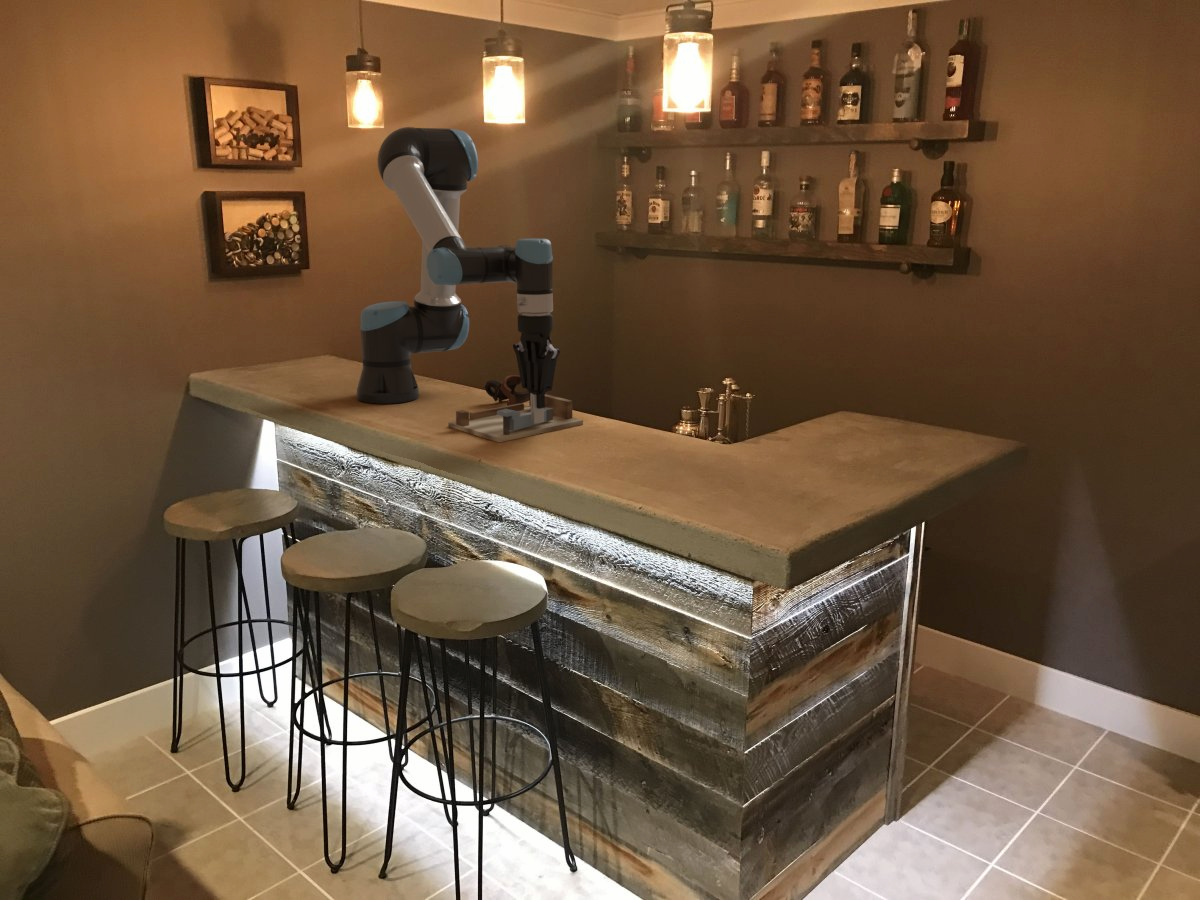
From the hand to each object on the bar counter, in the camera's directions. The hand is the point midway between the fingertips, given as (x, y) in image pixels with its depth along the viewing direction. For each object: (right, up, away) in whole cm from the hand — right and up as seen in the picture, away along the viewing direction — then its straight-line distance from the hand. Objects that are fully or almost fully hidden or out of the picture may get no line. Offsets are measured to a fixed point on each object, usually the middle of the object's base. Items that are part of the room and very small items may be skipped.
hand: (537, 422), depth 210 cm
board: (-5, -1, +6) cm, 8 cm away
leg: (-2, -1, 0) cm, 3 cm away
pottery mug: (-9, +5, +26) cm, 28 cm away
